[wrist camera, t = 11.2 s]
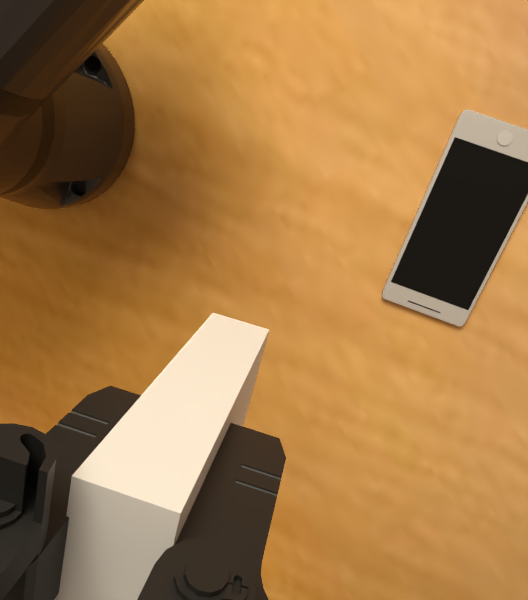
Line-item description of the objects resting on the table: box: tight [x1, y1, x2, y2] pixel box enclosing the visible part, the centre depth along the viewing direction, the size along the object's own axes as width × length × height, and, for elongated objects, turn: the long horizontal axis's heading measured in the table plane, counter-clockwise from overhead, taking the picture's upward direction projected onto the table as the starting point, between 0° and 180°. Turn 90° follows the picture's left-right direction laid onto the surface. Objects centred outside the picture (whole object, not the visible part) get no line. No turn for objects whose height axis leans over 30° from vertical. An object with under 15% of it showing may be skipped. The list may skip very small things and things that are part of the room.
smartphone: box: [382, 109, 528, 327], centre depth 39 cm, size 7×15×1 cm, turn 161°
